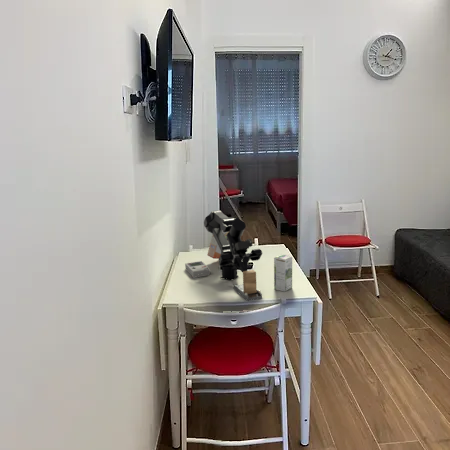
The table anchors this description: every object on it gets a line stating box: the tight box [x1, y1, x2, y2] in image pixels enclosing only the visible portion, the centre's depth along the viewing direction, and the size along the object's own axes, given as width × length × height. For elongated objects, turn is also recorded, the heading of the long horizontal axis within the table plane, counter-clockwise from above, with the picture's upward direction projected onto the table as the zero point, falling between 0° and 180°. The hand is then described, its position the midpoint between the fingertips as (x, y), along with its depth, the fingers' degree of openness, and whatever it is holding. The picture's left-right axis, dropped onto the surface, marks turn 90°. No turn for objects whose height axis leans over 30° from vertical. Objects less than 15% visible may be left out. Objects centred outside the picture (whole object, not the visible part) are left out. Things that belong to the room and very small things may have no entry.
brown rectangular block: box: [242, 269, 258, 294], centre depth 181 cm, size 3×5×9 cm, turn 109°
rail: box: [233, 283, 263, 302], centre depth 185 cm, size 16×6×3 cm, turn 20°
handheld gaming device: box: [184, 260, 211, 278], centre depth 215 cm, size 9×15×4 cm, turn 20°
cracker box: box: [207, 232, 229, 260], centre depth 230 cm, size 14×6×21 cm, turn 133°
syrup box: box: [273, 253, 293, 292], centre depth 187 cm, size 6×6×14 cm
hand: (246, 274), depth 184 cm, fingers closed
